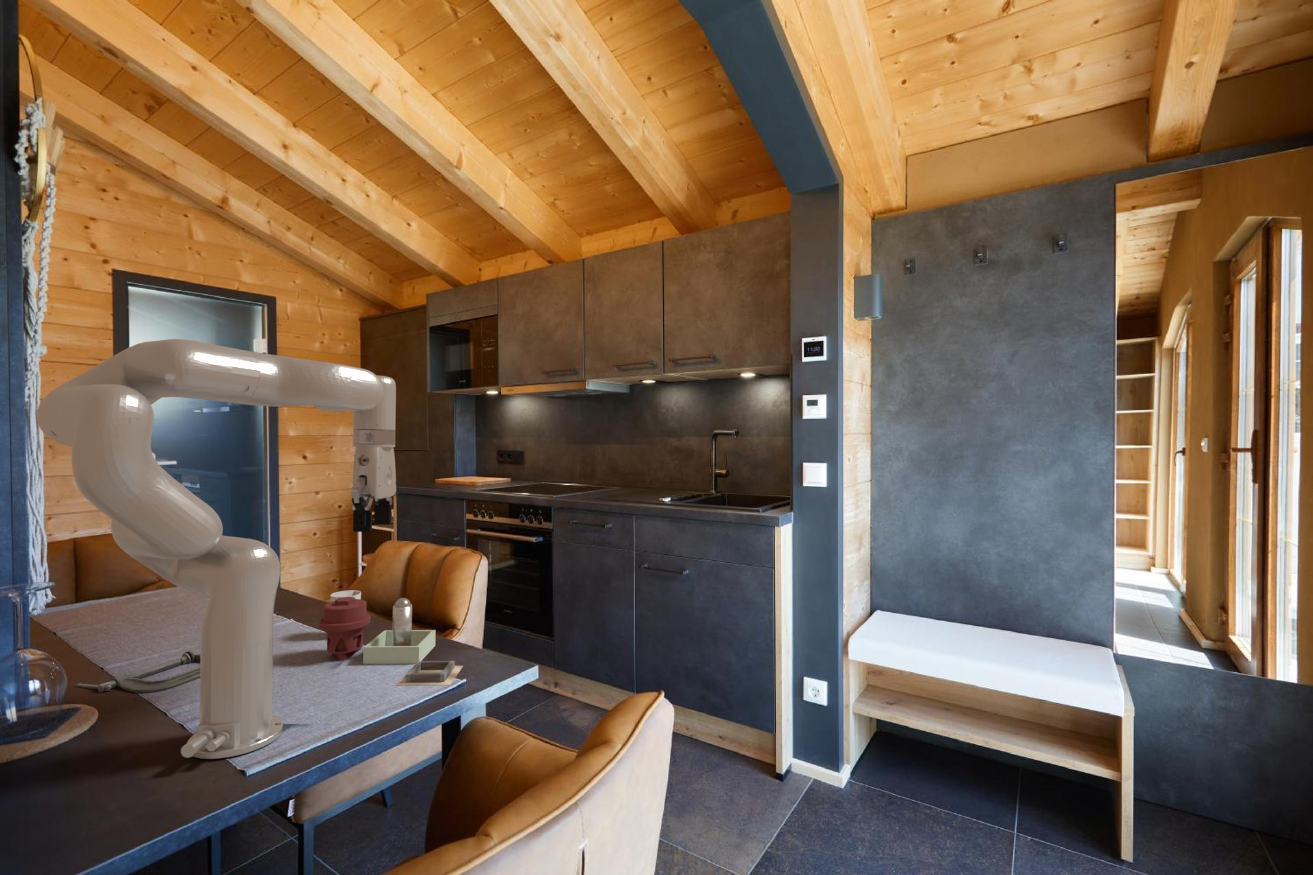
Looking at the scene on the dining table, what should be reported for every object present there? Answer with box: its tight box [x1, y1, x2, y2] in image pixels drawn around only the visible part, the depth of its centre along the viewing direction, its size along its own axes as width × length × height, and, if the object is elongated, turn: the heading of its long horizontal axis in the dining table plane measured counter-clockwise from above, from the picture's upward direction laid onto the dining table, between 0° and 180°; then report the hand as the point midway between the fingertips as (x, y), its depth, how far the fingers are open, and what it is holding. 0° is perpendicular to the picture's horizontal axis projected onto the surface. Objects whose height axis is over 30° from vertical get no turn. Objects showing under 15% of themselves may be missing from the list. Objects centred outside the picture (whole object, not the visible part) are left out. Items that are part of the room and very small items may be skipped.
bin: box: [362, 629, 437, 665], centre depth 134 cm, size 11×11×5 cm
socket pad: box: [395, 660, 464, 687], centre depth 122 cm, size 10×10×3 cm
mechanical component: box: [318, 597, 371, 661], centre depth 136 cm, size 12×10×10 cm
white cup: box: [330, 589, 362, 602], centre depth 150 cm, size 7×7×10 cm
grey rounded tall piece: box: [391, 597, 413, 646], centre depth 134 cm, size 5×5×13 cm
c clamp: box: [75, 650, 200, 694], centre depth 124 cm, size 20×17×3 cm
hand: (372, 527), depth 121 cm, fingers open, 9 cm apart
